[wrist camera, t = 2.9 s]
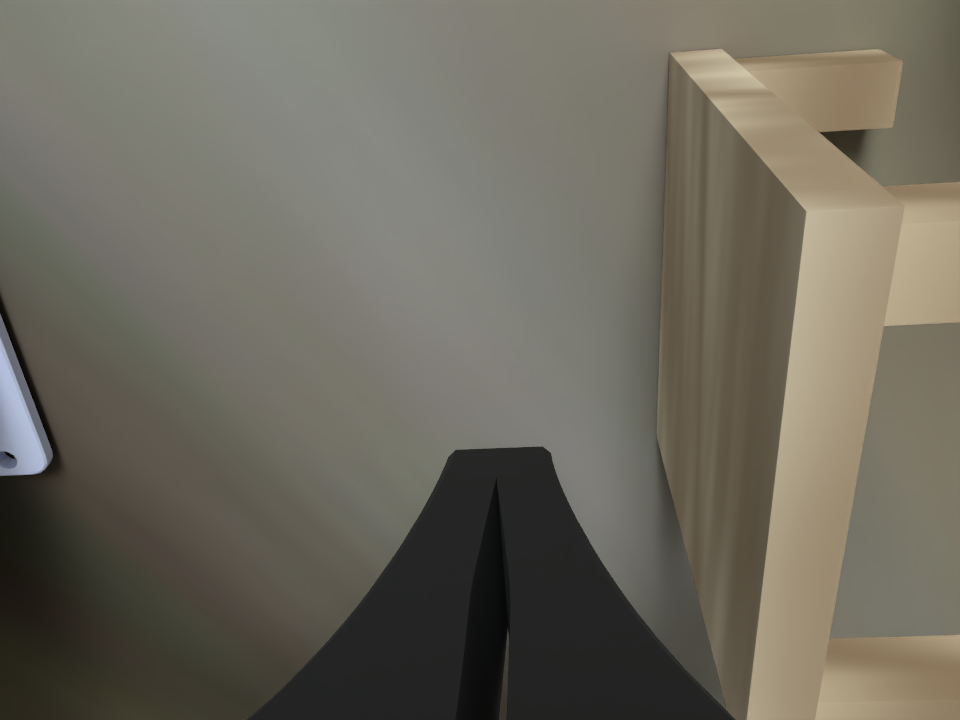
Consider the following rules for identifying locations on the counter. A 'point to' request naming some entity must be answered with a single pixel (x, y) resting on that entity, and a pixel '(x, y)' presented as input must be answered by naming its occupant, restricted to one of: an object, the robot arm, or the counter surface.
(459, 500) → the robot arm
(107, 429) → the counter surface
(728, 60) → the footstool
